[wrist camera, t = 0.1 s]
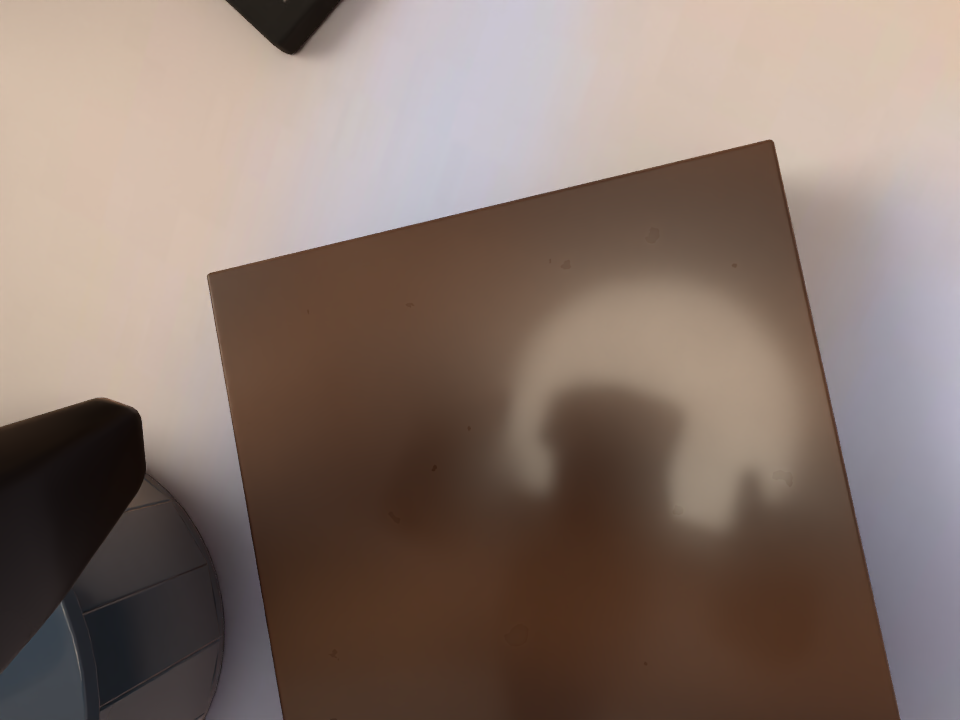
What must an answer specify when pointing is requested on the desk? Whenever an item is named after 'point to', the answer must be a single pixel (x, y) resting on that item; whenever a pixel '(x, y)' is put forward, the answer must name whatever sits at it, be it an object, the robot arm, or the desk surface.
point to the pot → (153, 613)
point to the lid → (53, 671)
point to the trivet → (554, 463)
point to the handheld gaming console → (284, 19)
